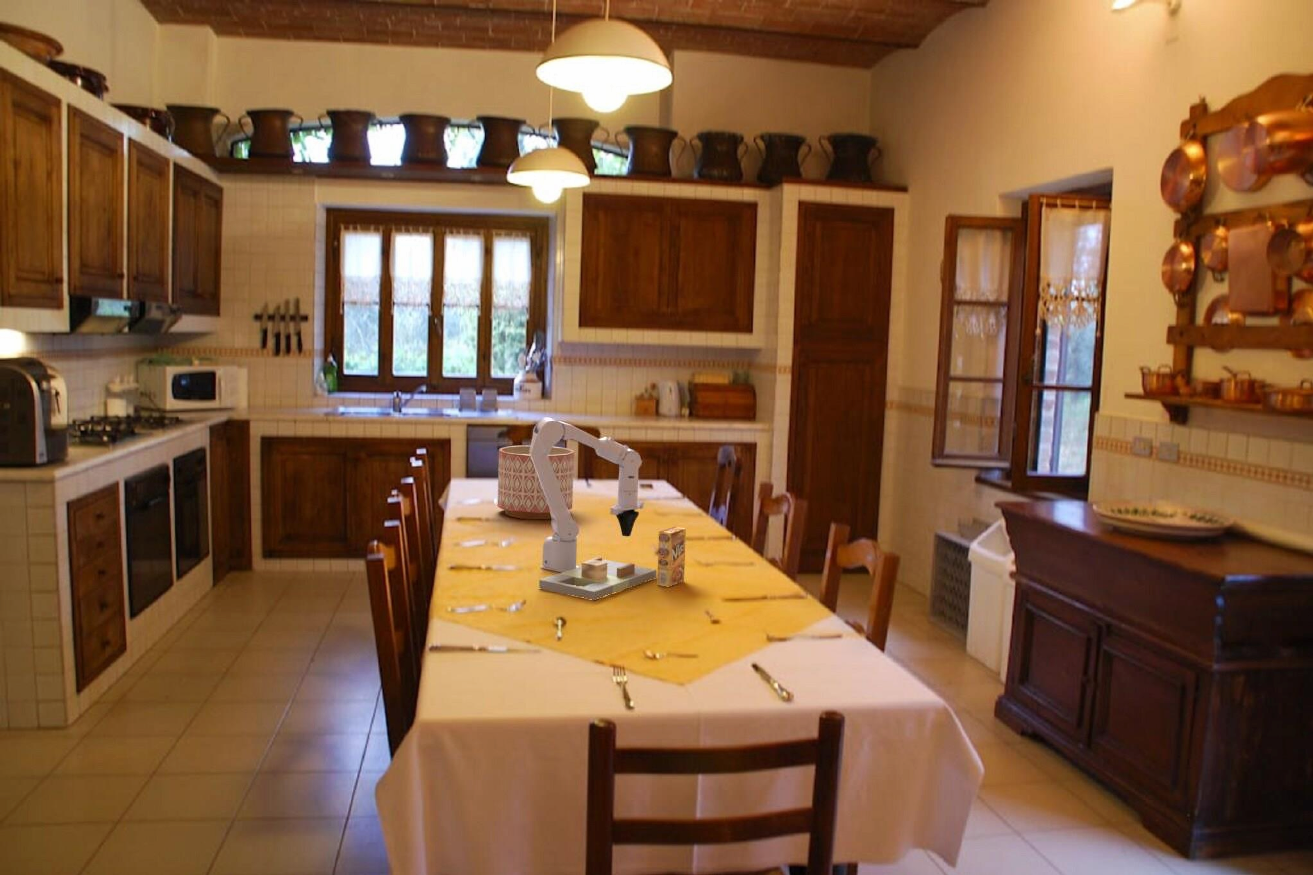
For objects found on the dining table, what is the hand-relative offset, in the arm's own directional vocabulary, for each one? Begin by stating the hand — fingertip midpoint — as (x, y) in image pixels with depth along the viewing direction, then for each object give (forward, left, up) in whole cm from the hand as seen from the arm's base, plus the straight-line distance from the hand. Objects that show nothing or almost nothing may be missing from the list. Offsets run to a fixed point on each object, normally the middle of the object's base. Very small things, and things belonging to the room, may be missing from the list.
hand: (626, 535), depth 291 cm
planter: (-70, +44, -10) cm, 83 cm away
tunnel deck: (+5, -20, -9) cm, 23 cm away
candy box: (+20, -7, -10) cm, 23 cm away
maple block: (+5, -23, -7) cm, 24 cm away
